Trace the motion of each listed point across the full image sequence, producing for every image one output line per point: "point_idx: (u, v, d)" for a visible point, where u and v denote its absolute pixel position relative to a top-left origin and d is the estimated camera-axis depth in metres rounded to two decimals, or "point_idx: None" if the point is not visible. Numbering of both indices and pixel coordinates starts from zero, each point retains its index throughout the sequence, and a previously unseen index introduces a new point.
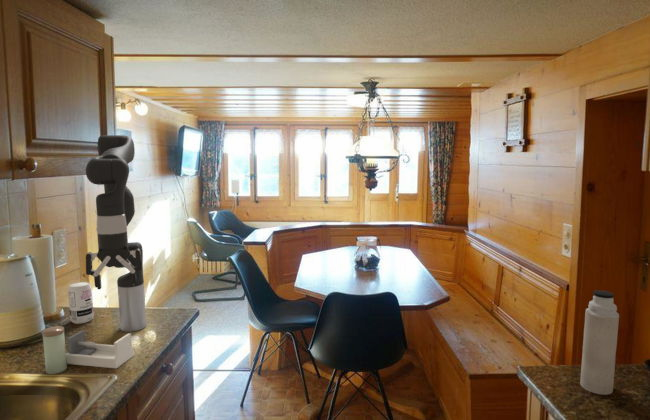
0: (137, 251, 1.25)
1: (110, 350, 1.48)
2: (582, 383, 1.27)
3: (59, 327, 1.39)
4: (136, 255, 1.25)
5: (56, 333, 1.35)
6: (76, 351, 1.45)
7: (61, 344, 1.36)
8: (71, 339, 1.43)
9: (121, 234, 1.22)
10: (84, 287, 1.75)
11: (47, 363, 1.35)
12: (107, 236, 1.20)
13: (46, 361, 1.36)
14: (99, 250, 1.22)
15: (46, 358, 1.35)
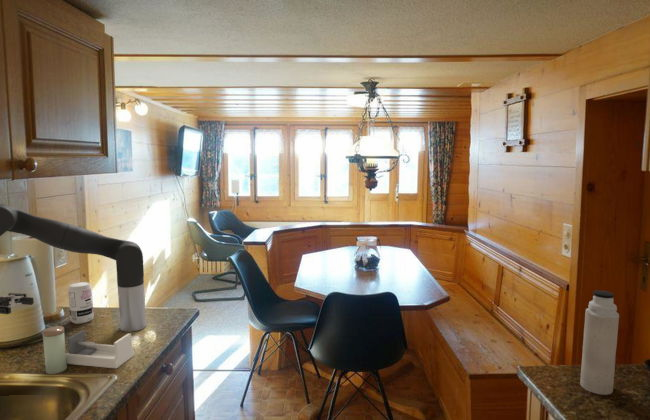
0: None
1: (110, 350, 1.48)
2: (582, 383, 1.27)
3: (59, 327, 1.39)
4: None
5: (56, 333, 1.35)
6: (76, 351, 1.45)
7: (61, 344, 1.36)
8: (71, 339, 1.43)
9: None
10: (84, 287, 1.75)
11: (47, 363, 1.35)
12: None
13: (46, 361, 1.36)
14: None
15: (46, 358, 1.35)
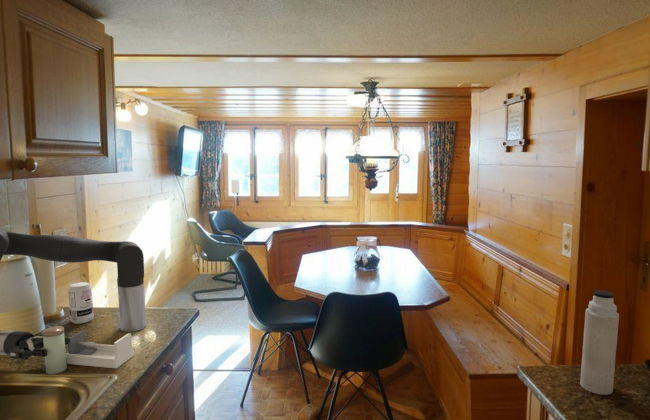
0: None
1: (110, 350, 1.48)
2: (582, 383, 1.27)
3: (59, 327, 1.38)
4: None
5: (56, 333, 1.35)
6: (76, 351, 1.45)
7: (61, 344, 1.36)
8: (71, 339, 1.43)
9: (8, 354, 1.38)
10: (84, 287, 1.75)
11: (47, 363, 1.35)
12: None
13: (46, 361, 1.36)
14: None
15: (46, 358, 1.35)
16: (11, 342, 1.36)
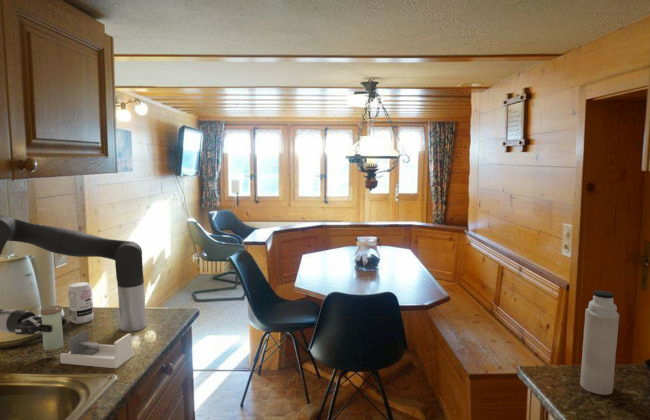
0: None
1: (110, 350, 1.48)
2: (582, 383, 1.27)
3: (57, 306, 1.48)
4: None
5: (54, 311, 1.44)
6: (78, 351, 1.45)
7: (58, 322, 1.46)
8: (73, 339, 1.43)
9: (11, 332, 1.47)
10: (84, 287, 1.75)
11: (45, 339, 1.45)
12: None
13: (44, 338, 1.45)
14: None
15: (44, 335, 1.45)
16: (14, 320, 1.45)
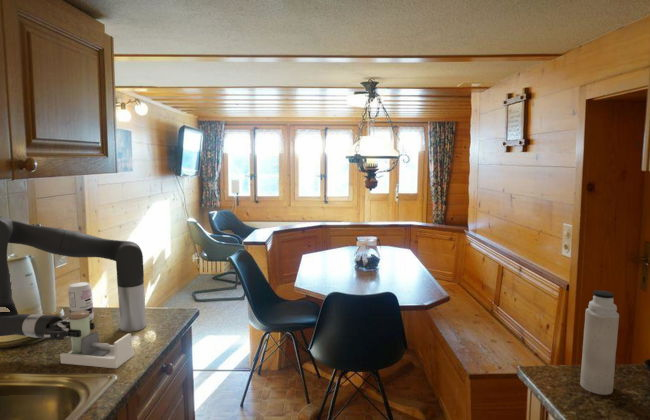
0: None
1: (110, 350, 1.48)
2: (582, 383, 1.27)
3: (85, 311, 1.46)
4: None
5: (82, 316, 1.42)
6: (90, 352, 1.44)
7: (86, 327, 1.44)
8: (85, 340, 1.42)
9: (38, 337, 1.45)
10: (84, 287, 1.75)
11: (73, 345, 1.43)
12: None
13: (72, 343, 1.43)
14: None
15: (72, 340, 1.43)
16: (42, 325, 1.44)
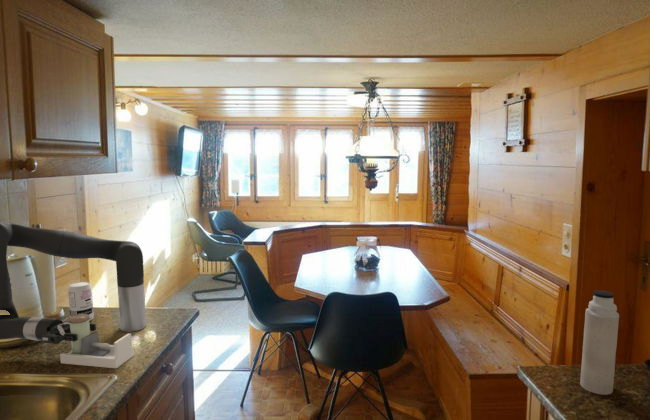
0: None
1: (110, 350, 1.48)
2: (582, 383, 1.27)
3: (85, 315, 1.46)
4: None
5: (82, 320, 1.43)
6: (90, 352, 1.44)
7: (86, 330, 1.44)
8: (85, 340, 1.42)
9: (39, 340, 1.45)
10: (84, 287, 1.75)
11: (73, 348, 1.43)
12: None
13: (73, 346, 1.43)
14: None
15: (73, 344, 1.43)
16: (42, 328, 1.44)
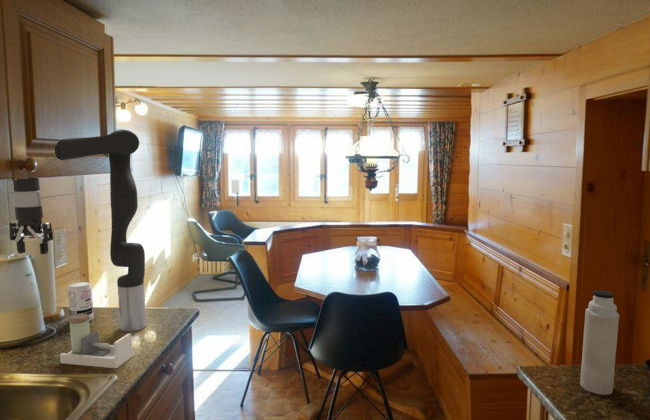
0: (43, 224, 1.43)
1: (110, 350, 1.48)
2: (582, 383, 1.27)
3: (85, 315, 1.46)
4: (43, 228, 1.43)
5: (82, 320, 1.43)
6: (90, 352, 1.44)
7: (86, 330, 1.44)
8: (85, 340, 1.42)
9: (28, 208, 1.42)
10: (84, 287, 1.75)
11: (73, 348, 1.43)
12: (16, 209, 1.41)
13: (73, 346, 1.43)
14: (18, 220, 1.45)
15: (73, 344, 1.43)
16: (42, 213, 1.46)
